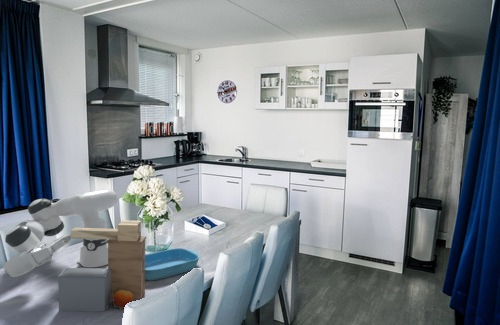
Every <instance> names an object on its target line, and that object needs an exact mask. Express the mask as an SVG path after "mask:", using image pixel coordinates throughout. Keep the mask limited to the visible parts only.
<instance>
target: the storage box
mask: <svg viewBox="0 0 500 325" xmlns="http://www.w3.org/2000/svg"><path fill="white" fill-rule="evenodd" d="M111 270H112V269H108V268H99V267H66V268H65V269H64V270H63V271H62V272H61V273H59V274H58V275H57V279H58V280H57V281H58V283H57V284H58V311H59V312H66V311H67V312H105V311H106V310H107V308H108V307H109V305H110V304H111V303H112V299H111Z"/></svg>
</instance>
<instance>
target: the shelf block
mask: <svg viewBox="0 0 500 325" xmlns="http://www.w3.org/2000/svg"><path fill="white" fill-rule="evenodd" d="M146 240H147V236H146V235H141V237H140V238H139V239H138V240H137V241H118V240H114V239H108V241H107V243H108V264H107V269H112V270H111V300H113V297H114V294H115V292H116V291H119V290H126V291H130V292H131V293H132V294H133V296H134V298H133V300H132V301H134V300H135V301H138V300H137V299H141V298H142V299H143V297H144V295H145V293H146V279H145V254H146ZM142 299H141V300H142Z"/></svg>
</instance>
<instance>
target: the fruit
mask: <svg viewBox="0 0 500 325" xmlns="http://www.w3.org/2000/svg"><path fill="white" fill-rule="evenodd" d="M133 298H134V296H133V294H132V293H131V292H130V291H126V290H119V291H116V292H115V294H114V297H113V299H112V301H113V305H114V308H119V309H120V311H122V309H124V307H125V305H126V304H127V303H129V302H131V303H132V302H133V301H134V300H133ZM125 308H126V307H125Z"/></svg>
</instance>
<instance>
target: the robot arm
mask: <svg viewBox="0 0 500 325" xmlns="http://www.w3.org/2000/svg"><path fill="white" fill-rule="evenodd" d="M117 203H118V195H117V193H116V191H114V190H112V189H100V190H99V189H98V190H93V191H87V192H82V193H79V194H74V195H70V196H66V197H63V198H61V199H59V200H57V201H56V202H53V199H48V198H39V199H35V200H33V201H32V202H31V203H30V204H29V205H28V207H27V211H28V213H29V215H31V217H32V219H30V220H26V221H21V222H20V223H19V224H17V225H15V227H13V228H12V229H10V230H9V231H8V233H7V234H6V235H5V240H4V241H5V243H6V244H7V245H9V246H10V247H11V248H12V249H13V251H15V252H16V253H17V254H16V255H14V256H12V257H11V258H9V259H8V260H7V261H5V262H4V264H3V269H4V272H5V273H6V274H7V275H8V276H9V277H11V278H17V277H20V276H23V275H25V274H27V273H30V271H32V270H34V269H35V268H37V267H40V266H42V265H44V264H46V263H48V262H50V261H51V260H52V257H53V255H54V253H56V252H57V251H58V250H60V249H61V248H63V247H64V246H65V245H68V243H70V242H72V239H73V238H71V234H68V233H65V234H64V235H62V236H61V237H59V238H56V239H55V240H53V241H52V242H50V243H46V242H42V241H43V239H44V237H45V236H46V237H55V236H56V235H59V234H60V233H61V232H62V231H63V230H64V228H65V224H64V221H63V220H62V219H61V217H74V216H78V217H80V219H81V221H82V226H83V228H102V229H107V222H106V220H105V219H104V218H101V217H100V215H99V212H102V211H106V210H108V209H112V208H113V207H115V206H116V205H117ZM108 240H109V239H82V246H81V247H80V253H79V254H80V255H79V259H78V260H77V264H80V265H81V266H82V267H83V268H99V267H103V266H106V265H107V266H108V243H107V241H108Z"/></svg>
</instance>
